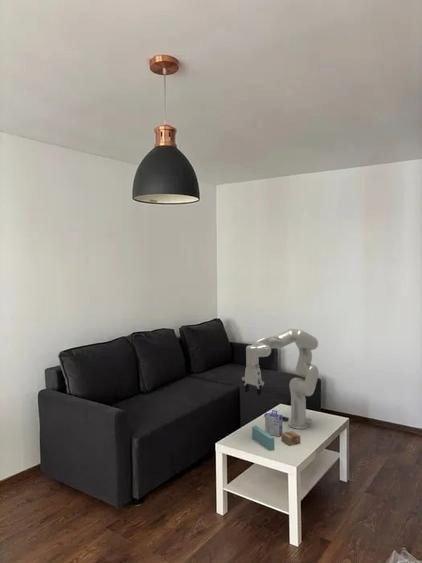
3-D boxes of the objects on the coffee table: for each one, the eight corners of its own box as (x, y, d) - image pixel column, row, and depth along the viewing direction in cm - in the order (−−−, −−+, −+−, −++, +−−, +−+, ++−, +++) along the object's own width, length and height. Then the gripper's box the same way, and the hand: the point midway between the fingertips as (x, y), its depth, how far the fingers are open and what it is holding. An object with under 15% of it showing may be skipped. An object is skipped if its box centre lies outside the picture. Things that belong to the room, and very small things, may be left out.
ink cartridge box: (283, 433, 267) (282, 411, 266) (279, 437, 262) (279, 414, 261) (268, 430, 272) (268, 408, 271) (265, 433, 267) (264, 411, 267)
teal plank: (256, 436, 263) (256, 425, 262) (274, 449, 244) (274, 437, 244) (252, 437, 261) (252, 426, 261) (270, 450, 243) (270, 438, 243)
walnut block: (292, 438, 260) (292, 430, 259) (300, 443, 252) (300, 435, 252) (281, 441, 256) (281, 433, 256) (289, 446, 249) (289, 438, 249)
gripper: (267, 367, 255) (268, 395, 255) (246, 362, 267) (246, 389, 268) (259, 369, 249) (260, 397, 250) (237, 364, 262) (238, 391, 263)
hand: (253, 393), depth 259 cm, fingers open, 9 cm apart
